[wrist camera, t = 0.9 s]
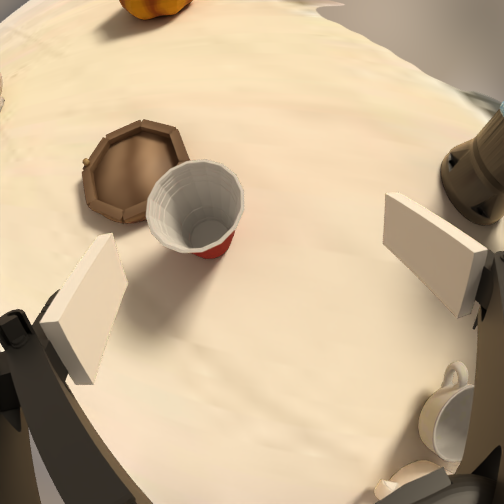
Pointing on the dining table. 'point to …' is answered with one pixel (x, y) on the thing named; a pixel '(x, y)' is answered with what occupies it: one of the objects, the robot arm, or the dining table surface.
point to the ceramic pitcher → (0, 99)
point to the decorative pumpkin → (153, 7)
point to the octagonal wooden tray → (130, 168)
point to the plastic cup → (196, 208)
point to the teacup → (448, 415)
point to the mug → (405, 477)
